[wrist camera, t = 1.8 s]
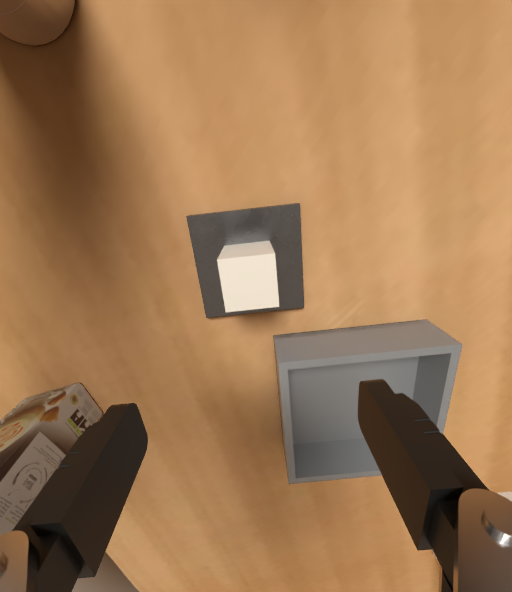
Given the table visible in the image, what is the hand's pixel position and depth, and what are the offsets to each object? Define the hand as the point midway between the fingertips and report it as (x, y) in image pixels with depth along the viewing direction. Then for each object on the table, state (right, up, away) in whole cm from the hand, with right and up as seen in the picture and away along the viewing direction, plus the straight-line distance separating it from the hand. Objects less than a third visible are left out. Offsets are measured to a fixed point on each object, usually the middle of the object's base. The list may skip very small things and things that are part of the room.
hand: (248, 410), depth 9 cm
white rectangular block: (0, +8, +20) cm, 21 cm away
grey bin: (+14, -9, +28) cm, 32 cm away
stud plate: (0, +8, +21) cm, 22 cm away
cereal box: (-27, -12, +28) cm, 41 cm away
